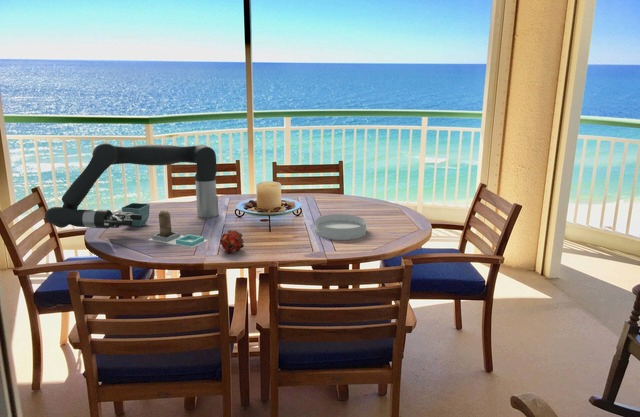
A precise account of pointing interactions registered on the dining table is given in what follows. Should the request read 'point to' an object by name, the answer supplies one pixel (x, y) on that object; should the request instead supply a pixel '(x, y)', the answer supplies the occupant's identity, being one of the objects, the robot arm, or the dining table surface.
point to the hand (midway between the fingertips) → (137, 220)
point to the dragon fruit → (232, 241)
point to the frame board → (179, 239)
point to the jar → (165, 223)
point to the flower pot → (138, 212)
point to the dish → (340, 226)
